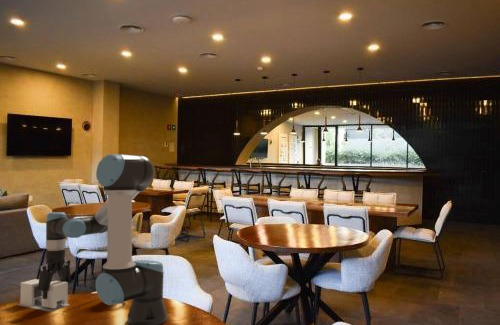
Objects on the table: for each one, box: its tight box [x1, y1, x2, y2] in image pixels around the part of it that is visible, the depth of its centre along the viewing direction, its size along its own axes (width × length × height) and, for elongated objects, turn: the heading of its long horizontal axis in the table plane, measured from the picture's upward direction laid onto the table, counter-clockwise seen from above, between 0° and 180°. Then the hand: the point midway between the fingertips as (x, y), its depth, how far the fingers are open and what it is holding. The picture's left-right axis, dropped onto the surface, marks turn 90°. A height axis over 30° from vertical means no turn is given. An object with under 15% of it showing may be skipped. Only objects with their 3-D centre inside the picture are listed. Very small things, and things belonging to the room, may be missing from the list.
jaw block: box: [42, 280, 69, 308], centre depth 172 cm, size 8×7×9 cm
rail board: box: [17, 298, 71, 312], centre depth 174 cm, size 20×10×3 cm, turn 66°
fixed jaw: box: [19, 278, 42, 306], centre depth 177 cm, size 8×7×9 cm
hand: (54, 303), depth 172 cm, fingers open, 7 cm apart
